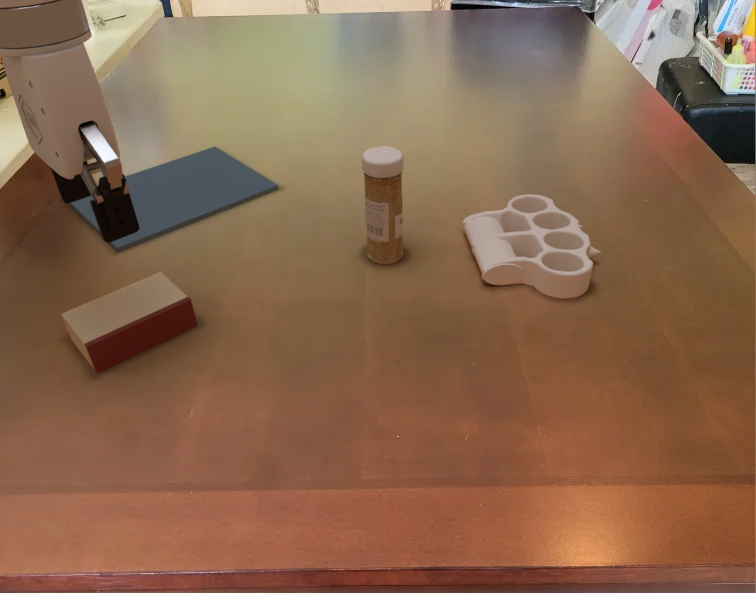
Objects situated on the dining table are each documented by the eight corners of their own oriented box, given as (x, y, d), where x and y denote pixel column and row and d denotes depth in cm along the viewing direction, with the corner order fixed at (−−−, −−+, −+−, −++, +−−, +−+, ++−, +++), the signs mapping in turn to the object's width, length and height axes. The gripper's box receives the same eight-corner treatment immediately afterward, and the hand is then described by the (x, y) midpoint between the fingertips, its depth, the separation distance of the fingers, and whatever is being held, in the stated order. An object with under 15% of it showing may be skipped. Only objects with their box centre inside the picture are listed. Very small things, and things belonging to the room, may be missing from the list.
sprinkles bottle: (410, 257, 79) (411, 154, 71) (380, 270, 77) (377, 166, 69) (388, 241, 82) (387, 140, 74) (358, 253, 80) (353, 151, 72)
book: (97, 374, 64) (86, 347, 62) (71, 339, 69) (60, 312, 67) (198, 326, 70) (191, 299, 68) (167, 296, 74) (160, 270, 72)
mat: (118, 253, 82) (116, 247, 81) (65, 201, 93) (64, 196, 92) (278, 190, 94) (278, 185, 93) (215, 151, 105) (214, 146, 104)
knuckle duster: (456, 221, 86) (565, 213, 87) (489, 306, 71) (619, 295, 72) (458, 198, 84) (569, 190, 85) (491, 281, 69) (625, 270, 70)
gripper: (-47, 13, 54) (28, 198, 64) (20, 57, 43) (97, 270, 53) (46, -4, 58) (102, 173, 68) (128, 32, 47) (180, 236, 57)
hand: (100, 216), depth 61 cm, fingers open, 9 cm apart
